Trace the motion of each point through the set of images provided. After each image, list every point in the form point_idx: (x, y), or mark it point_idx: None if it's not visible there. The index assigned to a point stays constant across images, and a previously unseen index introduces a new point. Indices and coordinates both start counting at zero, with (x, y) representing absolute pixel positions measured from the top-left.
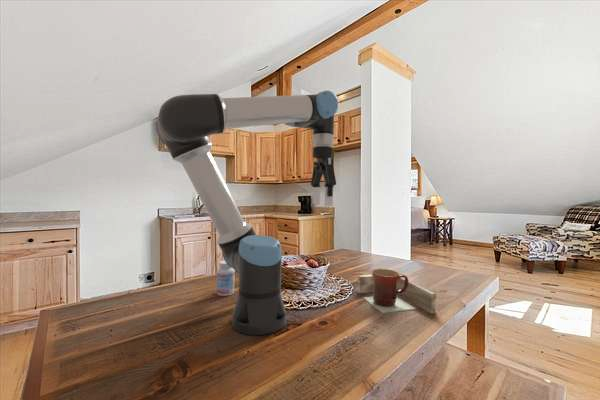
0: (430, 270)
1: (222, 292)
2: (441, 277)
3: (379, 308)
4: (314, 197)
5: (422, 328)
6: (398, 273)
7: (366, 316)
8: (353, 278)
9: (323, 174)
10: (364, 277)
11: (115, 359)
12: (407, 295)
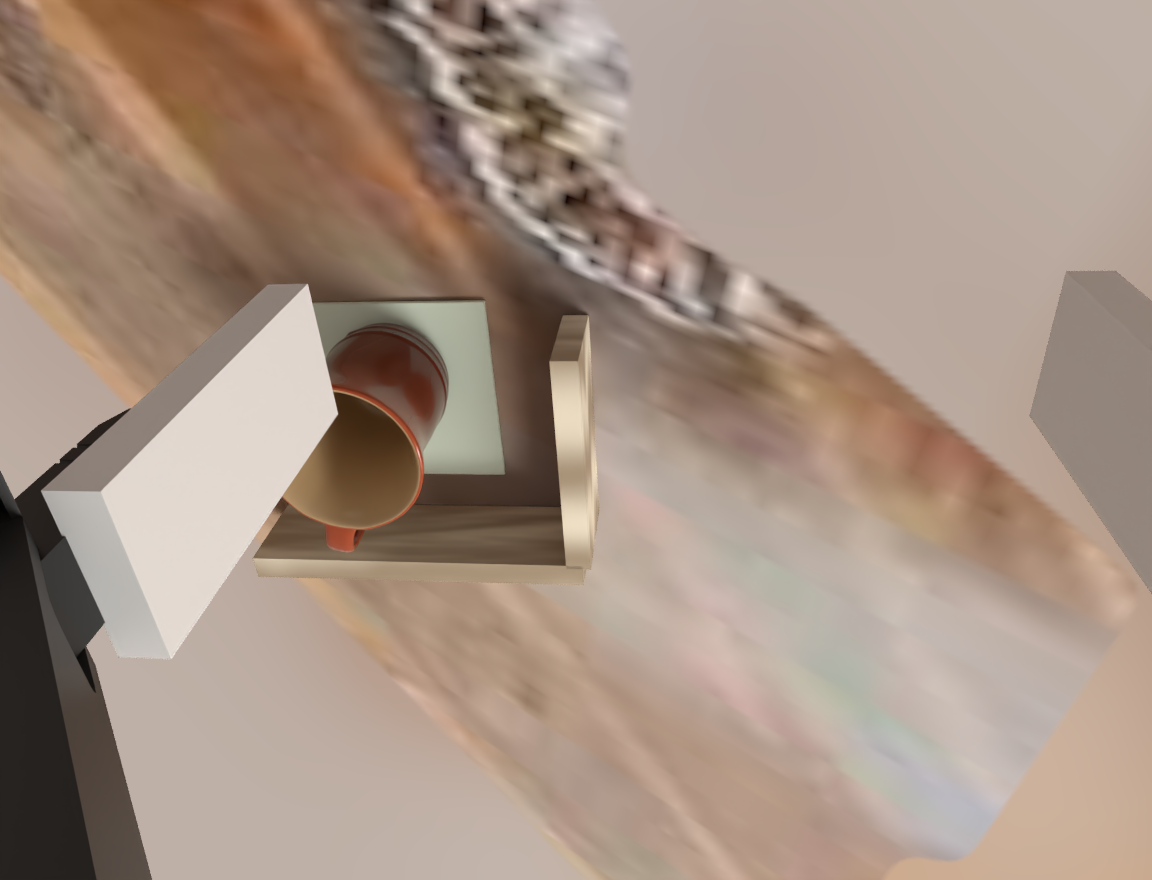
0: (829, 833)
1: None
2: (707, 804)
3: (331, 314)
4: (1124, 373)
5: (149, 386)
6: (317, 519)
7: (250, 206)
8: (839, 397)
9: (19, 878)
10: (552, 387)
11: None
12: (446, 516)
